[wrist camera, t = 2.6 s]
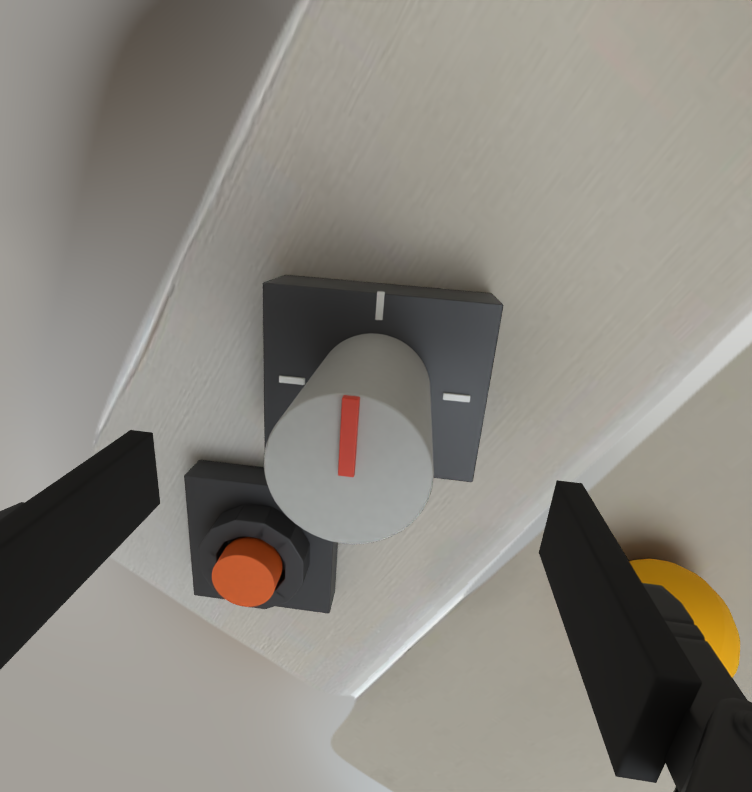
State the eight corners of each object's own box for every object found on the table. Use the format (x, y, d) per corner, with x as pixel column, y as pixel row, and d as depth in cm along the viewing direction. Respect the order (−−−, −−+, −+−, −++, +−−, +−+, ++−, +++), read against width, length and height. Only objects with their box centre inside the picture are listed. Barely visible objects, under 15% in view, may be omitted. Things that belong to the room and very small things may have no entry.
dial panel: (284, 431, 30) (263, 461, 26) (284, 272, 27) (261, 280, 23) (466, 451, 30) (472, 485, 26) (492, 291, 26) (504, 302, 22)
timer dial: (423, 445, 25) (423, 560, 17) (316, 433, 26) (261, 539, 17) (436, 338, 23) (444, 406, 14) (319, 327, 23) (258, 387, 15)
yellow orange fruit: (609, 645, 34) (657, 754, 27) (554, 572, 32) (590, 669, 25) (717, 600, 32) (801, 707, 25) (664, 519, 30) (738, 609, 23)
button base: (207, 574, 35) (181, 615, 32) (199, 459, 32) (169, 490, 28) (335, 591, 35) (324, 635, 31) (341, 476, 31) (330, 510, 27)
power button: (224, 582, 31) (213, 602, 29) (221, 533, 29) (209, 551, 28) (282, 590, 30) (274, 610, 29) (282, 540, 29) (274, 559, 27)
